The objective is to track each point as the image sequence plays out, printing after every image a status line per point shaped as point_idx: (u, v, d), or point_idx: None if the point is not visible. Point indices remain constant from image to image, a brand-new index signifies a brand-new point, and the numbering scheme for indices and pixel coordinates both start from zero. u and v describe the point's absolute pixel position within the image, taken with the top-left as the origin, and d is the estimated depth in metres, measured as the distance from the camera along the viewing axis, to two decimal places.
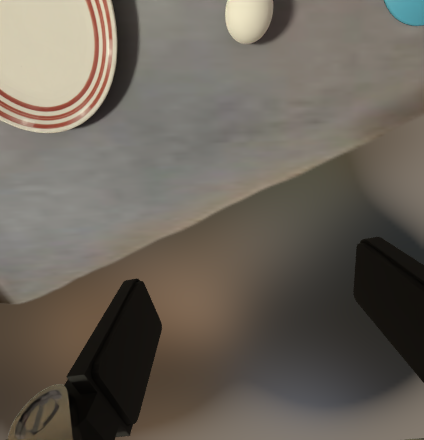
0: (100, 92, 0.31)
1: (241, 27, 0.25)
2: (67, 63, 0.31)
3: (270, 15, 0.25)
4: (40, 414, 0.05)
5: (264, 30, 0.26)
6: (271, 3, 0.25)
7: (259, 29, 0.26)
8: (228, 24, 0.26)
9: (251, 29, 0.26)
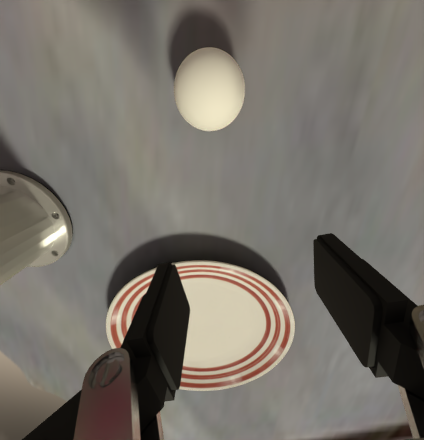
0: (266, 287, 0.27)
1: (234, 105, 0.16)
2: (231, 304, 0.30)
3: (221, 51, 0.15)
4: (107, 371, 0.06)
5: (236, 62, 0.16)
6: (207, 50, 0.15)
7: (238, 72, 0.16)
8: (222, 126, 0.18)
9: (238, 87, 0.16)
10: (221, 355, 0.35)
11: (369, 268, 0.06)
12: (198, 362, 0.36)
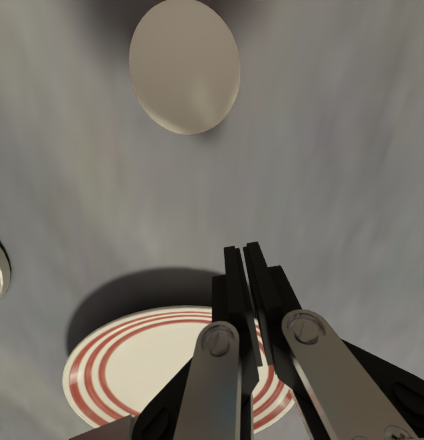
0: None
1: (224, 95, 0.10)
2: None
3: (201, 3, 0.09)
4: (216, 342, 0.06)
5: (226, 26, 0.10)
6: (178, 0, 0.09)
7: (230, 41, 0.10)
8: (207, 128, 0.12)
9: (230, 65, 0.10)
10: None
11: (268, 275, 0.07)
12: None
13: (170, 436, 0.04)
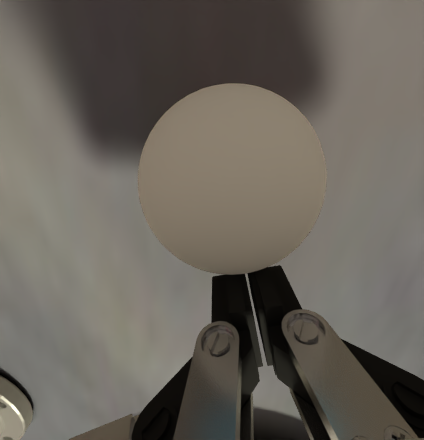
0: None
1: (300, 120, 0.05)
2: None
3: None
4: (216, 342, 0.06)
5: None
6: None
7: None
8: (273, 191, 0.04)
9: None
10: None
11: (268, 276, 0.07)
12: None
13: (170, 436, 0.04)
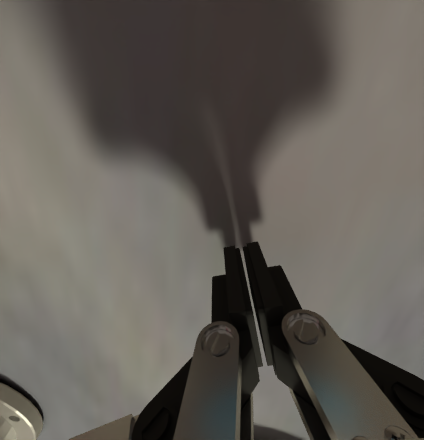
0: None
1: None
2: None
3: None
4: (216, 342, 0.06)
5: None
6: None
7: None
8: None
9: None
10: None
11: (268, 276, 0.07)
12: None
13: (170, 436, 0.04)
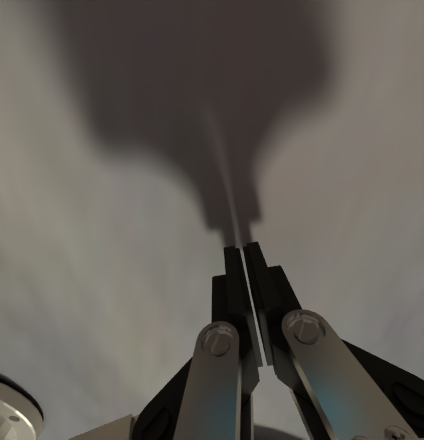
0: None
1: None
2: None
3: None
4: (216, 342, 0.06)
5: None
6: None
7: None
8: None
9: None
10: None
11: (268, 276, 0.07)
12: None
13: (170, 436, 0.04)
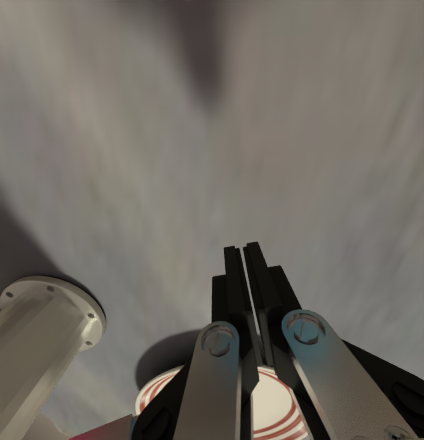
0: None
1: None
2: (258, 387, 0.30)
3: None
4: (216, 342, 0.06)
5: None
6: None
7: None
8: None
9: None
10: None
11: (268, 276, 0.07)
12: None
13: (170, 436, 0.04)
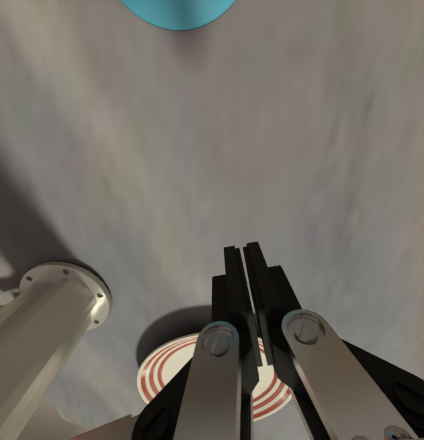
0: None
1: None
2: None
3: None
4: (216, 342, 0.06)
5: None
6: None
7: None
8: None
9: None
10: None
11: (268, 276, 0.07)
12: None
13: (170, 436, 0.04)
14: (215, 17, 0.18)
